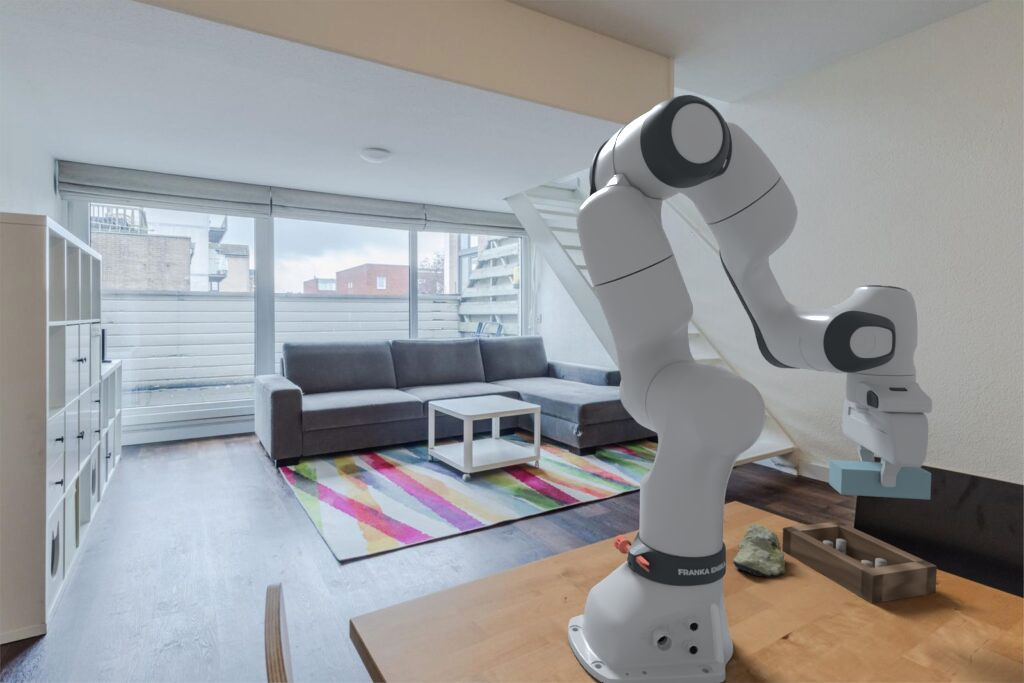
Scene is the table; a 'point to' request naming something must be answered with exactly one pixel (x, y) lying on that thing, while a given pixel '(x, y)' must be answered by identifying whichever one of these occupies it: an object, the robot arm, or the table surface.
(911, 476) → the light blue rectangular block
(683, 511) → the robot arm
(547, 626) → the table surface
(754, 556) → the rock
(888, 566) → the frame
